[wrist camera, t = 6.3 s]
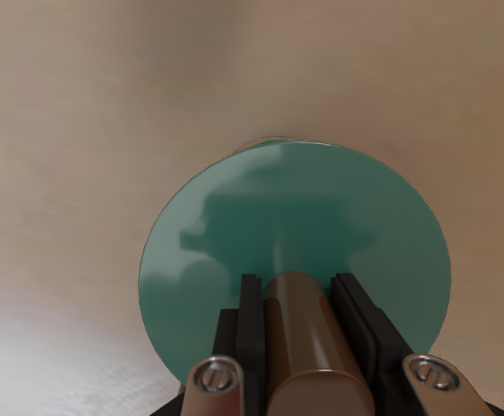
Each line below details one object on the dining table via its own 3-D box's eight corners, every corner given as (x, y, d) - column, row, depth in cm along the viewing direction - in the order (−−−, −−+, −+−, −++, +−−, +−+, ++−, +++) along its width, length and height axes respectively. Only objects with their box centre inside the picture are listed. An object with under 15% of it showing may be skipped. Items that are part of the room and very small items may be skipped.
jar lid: (161, 402, 14) (94, 592, 8) (133, 142, 11) (-2, 150, 5) (416, 400, 14) (533, 593, 8) (453, 137, 11) (679, 140, 5)
